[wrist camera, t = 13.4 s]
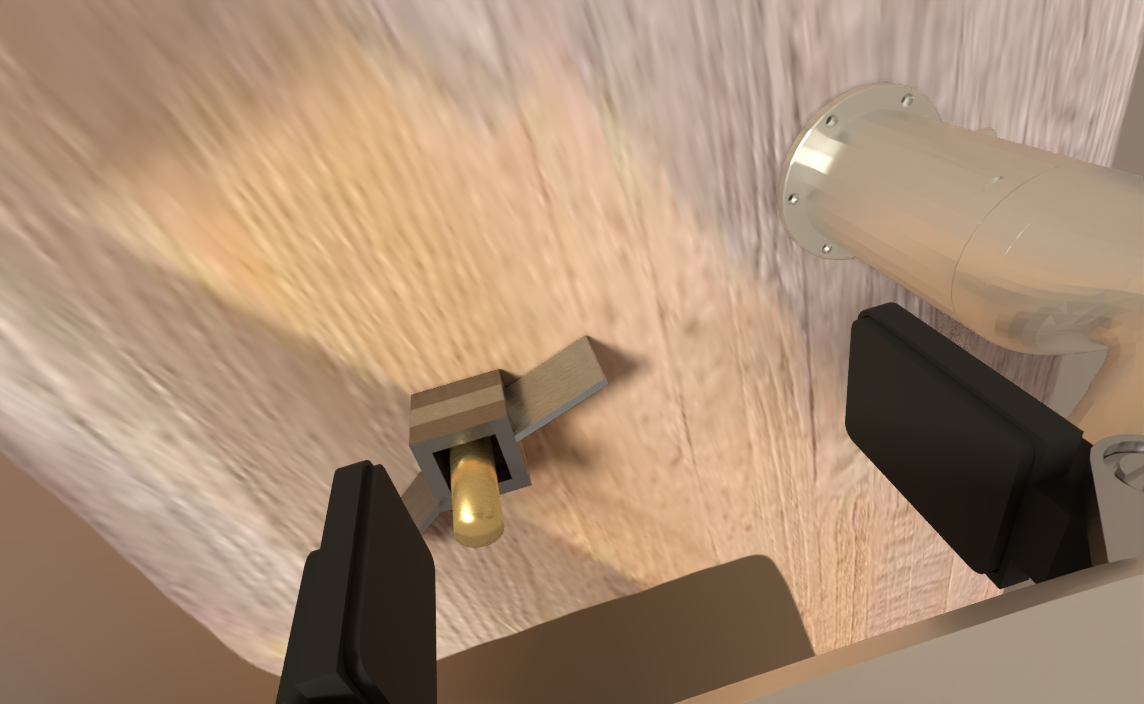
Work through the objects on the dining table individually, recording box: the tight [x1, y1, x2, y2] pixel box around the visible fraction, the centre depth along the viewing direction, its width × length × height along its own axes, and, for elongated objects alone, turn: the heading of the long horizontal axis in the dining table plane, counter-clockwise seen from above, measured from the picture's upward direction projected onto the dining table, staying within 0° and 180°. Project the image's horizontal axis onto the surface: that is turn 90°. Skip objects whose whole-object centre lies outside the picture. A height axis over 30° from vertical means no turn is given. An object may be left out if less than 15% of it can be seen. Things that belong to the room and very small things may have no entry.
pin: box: [449, 435, 504, 548], centre depth 43 cm, size 3×3×12 cm
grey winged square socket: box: [401, 336, 608, 535], centre depth 47 cm, size 21×13×6 cm, turn 102°
